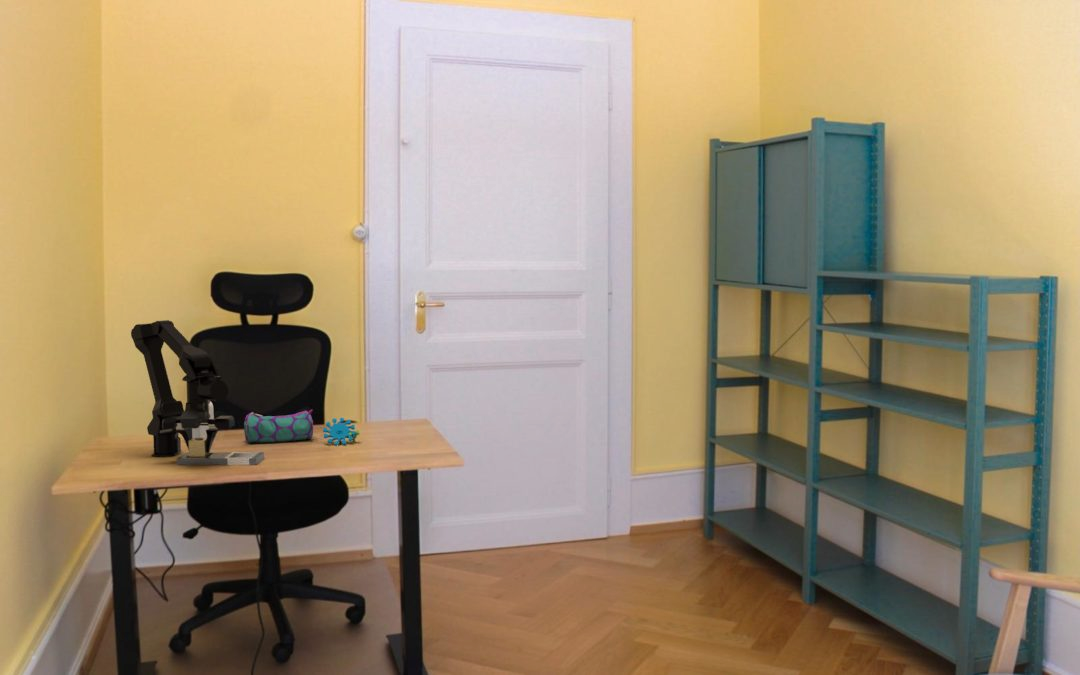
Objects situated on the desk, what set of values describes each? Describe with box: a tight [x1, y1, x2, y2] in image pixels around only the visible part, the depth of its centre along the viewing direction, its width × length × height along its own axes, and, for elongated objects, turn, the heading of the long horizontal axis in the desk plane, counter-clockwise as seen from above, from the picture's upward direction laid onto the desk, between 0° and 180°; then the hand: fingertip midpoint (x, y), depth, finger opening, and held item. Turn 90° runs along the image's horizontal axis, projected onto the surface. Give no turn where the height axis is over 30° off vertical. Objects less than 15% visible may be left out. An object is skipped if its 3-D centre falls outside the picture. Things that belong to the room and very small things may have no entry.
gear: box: [322, 417, 360, 446], centre depth 297 cm, size 11×6×10 cm
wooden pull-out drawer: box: [188, 437, 211, 458], centre depth 270 cm, size 4×4×7 cm
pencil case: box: [243, 409, 314, 444], centre depth 299 cm, size 21×9×10 cm, turn 107°
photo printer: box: [192, 401, 215, 438], centre depth 301 cm, size 10×4×12 cm, turn 172°
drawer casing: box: [176, 451, 265, 466], centre depth 270 cm, size 22×8×2 cm, turn 91°
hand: (199, 452), depth 270 cm, fingers closed on wooden pull-out drawer, 4 cm apart
